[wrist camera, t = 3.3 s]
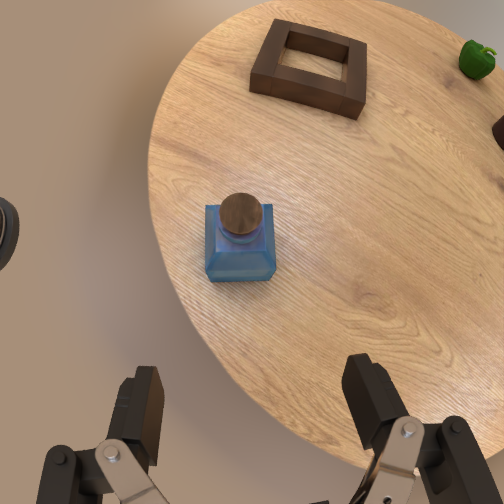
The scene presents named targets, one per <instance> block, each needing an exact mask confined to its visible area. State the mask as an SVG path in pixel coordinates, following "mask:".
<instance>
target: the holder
mask: <svg viewBox="0 0 504 504" xmlns="http://www.w3.org/2000/svg"><path fill="white" fill-rule="evenodd" d="M286 48H290V49H294V50H298V51H302V52H306V53H310V54H314V55H318V56H321V57H325V58H328V59H331V60H335V61H338V62H341V63H343V68H342V77H341V81H339V80H336V79H333V78H329V77H326V76H322V75H319V74H315V73H312V72H308V71H304V70H300V69H296V68H292V67H288V66H284V65H280V64H281V61H282V58H283V55H284V52H285V50H286ZM366 76H367V44H366V43H363V42H361V41H358V40H355V39H352V38H348V37H345V36H342V35H339V34H336V33H332V32H329V31H325V30H322V29H318V28H314V27H310V26H306V25H302V24H298V23H293V22H289V21H284V20H279V19H274V21H273V23H272V25H271V27H270V30H269V32H268V34H267V36H266V38H265V40H264V43H263V45H262V47H261V49H260V52H259V54H258V56H257V58H256V61H255V63H254V65H253V68H252V70H251V73H250V87H249V91H250V92H254V93H259V94H264V95H268V96H273V97H277V98H281V99H285V100H289V101H293V102H297V103H301V104H305V105H308V106H312V107H315V108H319V109H322V110H326V111H329V112H332V113H335V114H338V115H342V116H345V117H348V118H351V119H354V120H357V118H358V117H359V115H360V113H361V111H362V109H363V107H364V105H365V104H366Z"/></svg>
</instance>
